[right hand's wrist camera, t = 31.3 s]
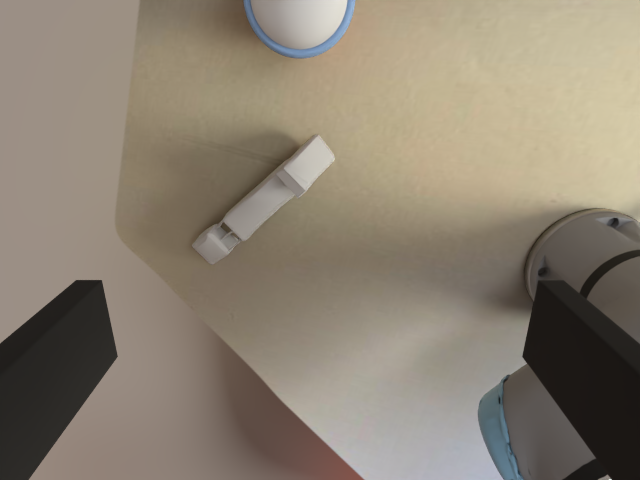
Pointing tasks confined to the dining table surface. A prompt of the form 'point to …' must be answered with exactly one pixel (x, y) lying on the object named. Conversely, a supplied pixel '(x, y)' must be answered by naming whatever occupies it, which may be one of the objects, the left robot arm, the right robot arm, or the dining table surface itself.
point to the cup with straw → (299, 24)
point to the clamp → (266, 199)
